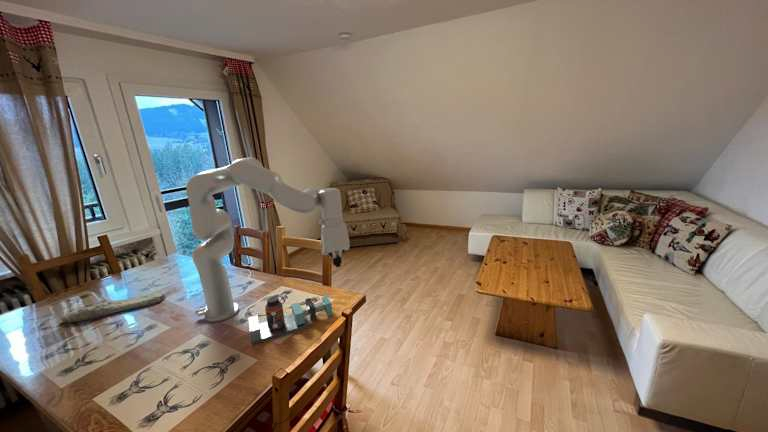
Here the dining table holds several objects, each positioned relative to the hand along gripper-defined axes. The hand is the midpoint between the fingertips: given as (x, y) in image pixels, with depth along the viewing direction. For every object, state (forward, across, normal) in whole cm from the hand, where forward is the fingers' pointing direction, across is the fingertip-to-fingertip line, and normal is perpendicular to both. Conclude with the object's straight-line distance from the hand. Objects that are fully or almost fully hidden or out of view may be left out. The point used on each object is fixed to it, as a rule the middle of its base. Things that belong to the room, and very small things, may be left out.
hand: (337, 265), depth 116 cm
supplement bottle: (+18, -25, +1) cm, 31 cm away
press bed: (+20, -23, 0) cm, 30 cm away
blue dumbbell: (+19, -12, 0) cm, 22 cm away
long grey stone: (+20, -86, +50) cm, 101 cm away
